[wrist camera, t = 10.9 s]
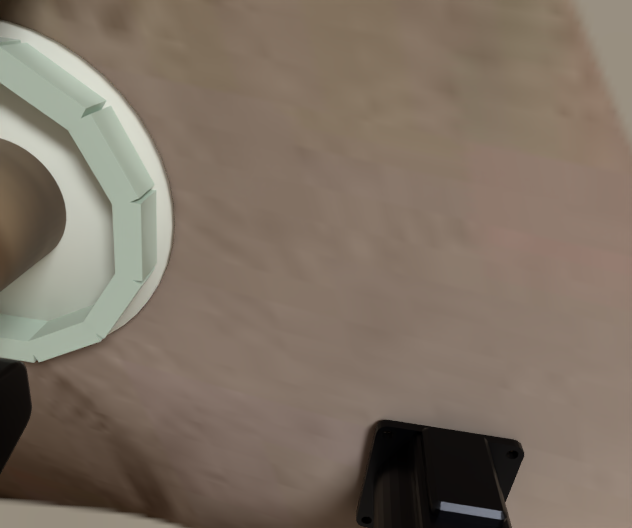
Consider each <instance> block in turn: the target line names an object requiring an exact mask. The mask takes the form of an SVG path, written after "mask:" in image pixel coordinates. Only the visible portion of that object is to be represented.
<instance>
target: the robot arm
mask: <svg viewBox="0 0 632 528" xmlns="http://www.w3.org/2000/svg"><path fill="white" fill-rule="evenodd" d="M31 410H32V403H31V396H30V389H29V382H28V374H27V369H26V366H25V365H24V364H23V363H22V362H20V361H17V360H11V359H4V358H0V474H1V472H2V470H3V468H4V467H5V465H6V463H7V461H8V459H9V457H10V455H11V453H12V452H13V450H14V448H15V446H16V444H17V442H18V440H19V439H20V437H21V435H22V433H23V431H24V429H25V427H26V425H27V423H28V421H29V419H30V415H31ZM384 431H391V432H390V433H385V432H384ZM511 450H514V451H513V452H509V451H511ZM523 457H524V451H523V448H522V446H521V443H519V442H518V441H516V440H513V439H506V438H500V437H494V436H487V435H481V434H475V433H468V432H462V431H455V430H449V429H443V428H436V427H430V426H423V425H417V424H411V423H404V422H398V421H392V420H383V421H380V422H379V423H378V424H377V426H376V429H375V433H374V438H373V442H372V446H371V451H370V455H369V459H368V464H367V468H366V472H365V477H364V481H363V485H362V490H361V494H360V499H359V503H358V507H357V512H356V521H357V523H358V524H359V525H360V526H363V527H367V528H512V526H511V523H510V519H509V515H508V512H507V508H506V504H505V502H506V499H507V497H508V494H509V492H510V490H511V487H512V485H513V482H514V480H515V477H516V475H517V472H518V470H519V467H520V465H521V462H522V460H523ZM367 516H368V517H367Z"/></svg>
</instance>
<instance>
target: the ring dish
mask: <svg viewBox="0 0 632 528" xmlns="http://www.w3.org/2000/svg"><path fill="white" fill-rule="evenodd" d="M0 138H1V139H4V140H7V141H10V142H12V143H14V144H16V145H19V146H20V147H22V148H24V149H25V150H27V151H28V152H30V153H31V154H32V155H34V156H35V157H36V158H37V159H38V160H39V161H40V162H41V163H42V164H43V165H44V166H45V167H46V168H47V169H48V171H49V172H50V173H51V175H52V176H53V177H54V179H55V181H56V182H57V184H58V186H59V188H60V191H61V193H62V195H63V199H64V202H65V207H66V226H65V230H64V234H63V236H62V238H61V240H60V242H59V243H58V245H57V246H56V247H55V248H54V249H53V250H52V251H51V252H50V253H49V254H48V255H46V256H45V257H44V258H43V259H41V260H40V261H39V262H37V263H36V264H35V265H34V266H32V267H31V268H30V269H29V270H27V271H26V272H25V273H24V274H22V275H21V276H20V277H19V278H17V279H16V280H15V281H13V282H12V283H11V284H10V285H8V286H7V287H6V288H5V289H3V290H2V291H1V292H0V357H1V358H7V359H14V360H20V361H27V362H33V363H34V362H35V361H36V360H38V362H42V361H45V360H48V359H50V358H53V357H56V356H59V355H62V354H65V353H68V352H71V351H74V350H77V349H80V348H83V347H86V346H89V345H92V344H95V343H97V342H100V341H101V340H102V339H103V338H105V337H106V336H107V335H108V334H110V333H112V332H113V331H115V330H117V329H118V328H120V327H122V326H123V325H125V324H126V323H127V322H128V321H129V320H130V319H132V318H133V317H134V316H135V315H136V314H137V313H138V312H139V311H140V310H141V309H142V307H143V306H144V305H145V304H146V303H147V301H148V300H149V299H150V297H151V296H152V295H153V293H154V292H155V290H156V288H157V287H158V285H159V283H160V282H161V280H162V278H163V276H164V273H165V271H166V268H167V266H168V263H169V260H170V256H171V251H172V247H173V240H174V228H175V219H174V203H173V198H172V193H171V187H170V182H169V179H168V176H167V173H166V170H165V167H164V164H163V161H162V158H161V156H160V154H159V152H158V150H157V147H156V145H155V143H154V141H153V139H152V137H151V135H150V133H149V132H148V130H147V129H146V127H145V125H144V124H143V122H142V120H141V119H140V117H139V116H138V114H137V113H136V112H135V110H134V109H133V108H132V106H131V105H130V104H129V103H128V101H127V100H126V99H125V97H124V96H123V95H122V94H121V93H120V92H119V91H118V90H117V89H116V88H115V87H114V86H113V84H112V83H111V82H110V81H109V80H108V79H107V78H106V77H105V76H104V75H103V74H101V73H100V72H99V71H98V70H97V69H95V68H94V67H93V66H92V65H91V64H89V63H88V62H87V61H86V60H85V59H83V58H82V57H81V56H79V55H78V54H76V53H74V52H73V51H71V50H70V49H68V48H67V47H65V46H64V45H62V44H61V43H59V42H57V41H55V40H53V39H51V38H49V37H47V36H45V35H43V34H41V33H39V32H37V31H35V30H32V29H29V28H27V27H24V26H21V25H18V24H15V23H12V22H9V21H5V20H0Z"/></svg>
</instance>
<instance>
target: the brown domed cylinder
mask: <svg viewBox="0 0 632 528" xmlns="http://www.w3.org/2000/svg"><path fill="white" fill-rule="evenodd" d="M65 226H66V207H65V202H64V199H63V195H62V193H61V191H60V188H59V186H58V184H57V182H56V181H55V179H54V177H53V176H52V175H51V173H50V172H49V171H48V169H47V168H46V167H45V166H44V165H43V164H42V163H41V162H40V161H39V160H38V159H37V158H36V157H35V156H34V155H32V154H31V153H30V152H28V151H27V150H25V149H24V148H22V147H20V146H19V145H16V144H14V143H12V142H10V141H7V140H4V139H1V138H0V292H1V291H2V290H3V289H5V288H6V287H7V286H8V285H10V284H11V283H12V282H13V281H15V280H16V279H17V278H19V277H20V276H21V275H22V274H24V273H25V272H26V271H27V270H29V269H30V268H31V267H32V266H34V265H35V264H36V263H37V262H39V261H40V260H41V259H43V258H44V257H45V256H46V255H48V254H49V253H50V252H51V251H52V250H53V249H54V248H55V247H56V246H57V245H58V243H59V242H60V240H61V238H62V236H63V234H64V230H65Z"/></svg>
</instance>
